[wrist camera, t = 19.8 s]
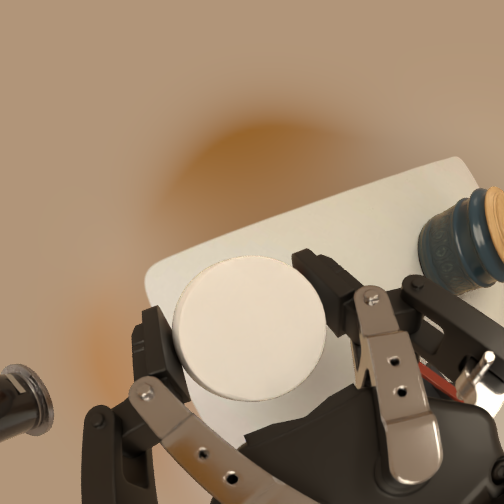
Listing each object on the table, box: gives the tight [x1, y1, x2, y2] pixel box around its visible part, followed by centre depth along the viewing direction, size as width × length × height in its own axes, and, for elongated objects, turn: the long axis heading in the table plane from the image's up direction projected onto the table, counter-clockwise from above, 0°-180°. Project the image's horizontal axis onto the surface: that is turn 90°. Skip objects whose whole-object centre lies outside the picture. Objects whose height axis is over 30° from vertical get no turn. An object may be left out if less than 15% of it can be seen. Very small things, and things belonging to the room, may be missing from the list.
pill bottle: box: [172, 256, 326, 402], centre depth 13 cm, size 6×6×11 cm
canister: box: [418, 187, 504, 295], centre depth 27 cm, size 13×13×18 cm
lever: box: [414, 351, 464, 403], centre depth 23 cm, size 16×3×3 cm
